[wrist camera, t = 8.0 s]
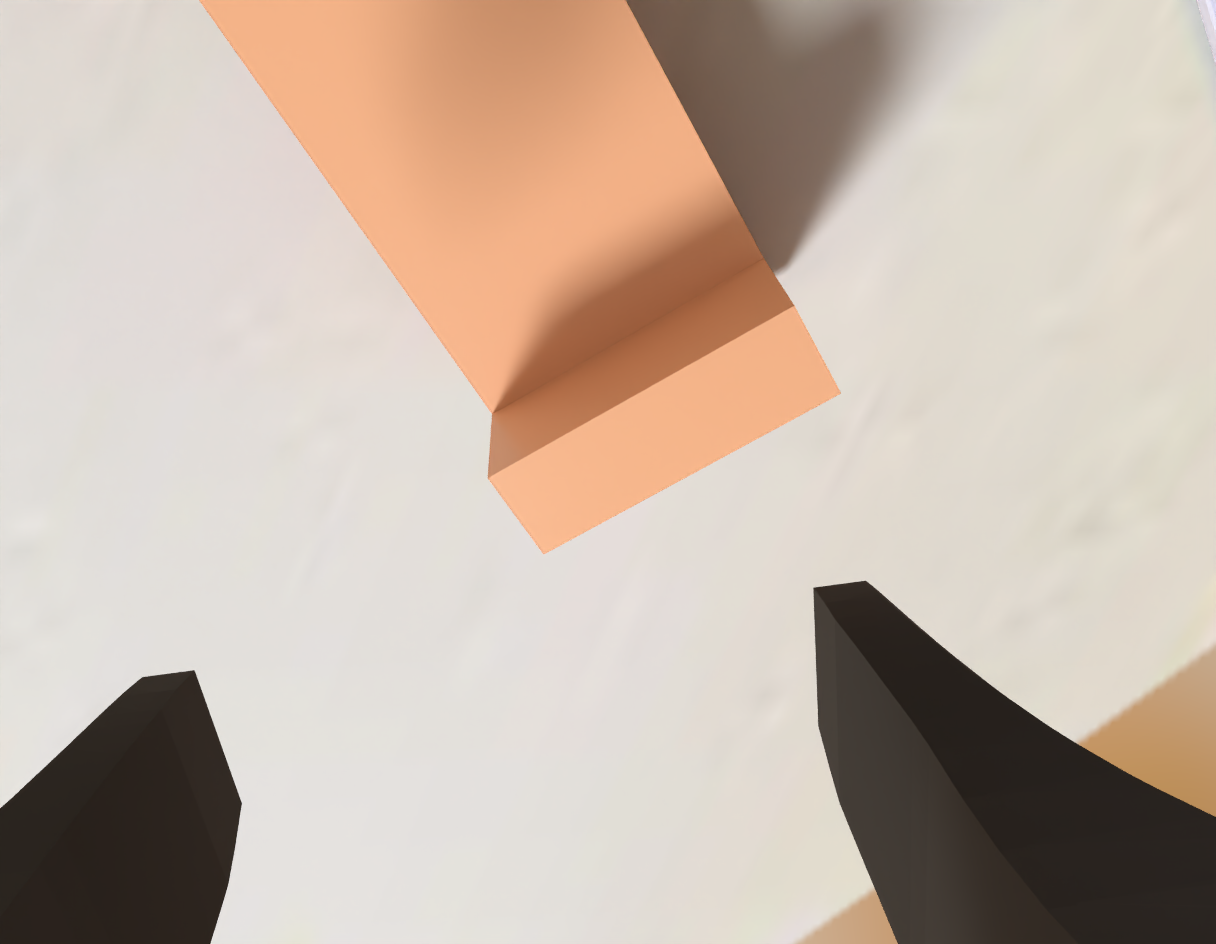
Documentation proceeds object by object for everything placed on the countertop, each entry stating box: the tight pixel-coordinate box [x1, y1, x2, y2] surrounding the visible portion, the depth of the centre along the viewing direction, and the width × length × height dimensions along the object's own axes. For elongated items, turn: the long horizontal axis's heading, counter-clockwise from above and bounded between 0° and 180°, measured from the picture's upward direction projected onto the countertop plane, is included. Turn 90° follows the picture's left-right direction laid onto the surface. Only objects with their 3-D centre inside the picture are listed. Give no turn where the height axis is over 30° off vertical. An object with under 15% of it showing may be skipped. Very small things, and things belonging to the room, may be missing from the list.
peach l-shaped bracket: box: [199, 0, 841, 554], centre depth 16 cm, size 14×5×5 cm, turn 30°
